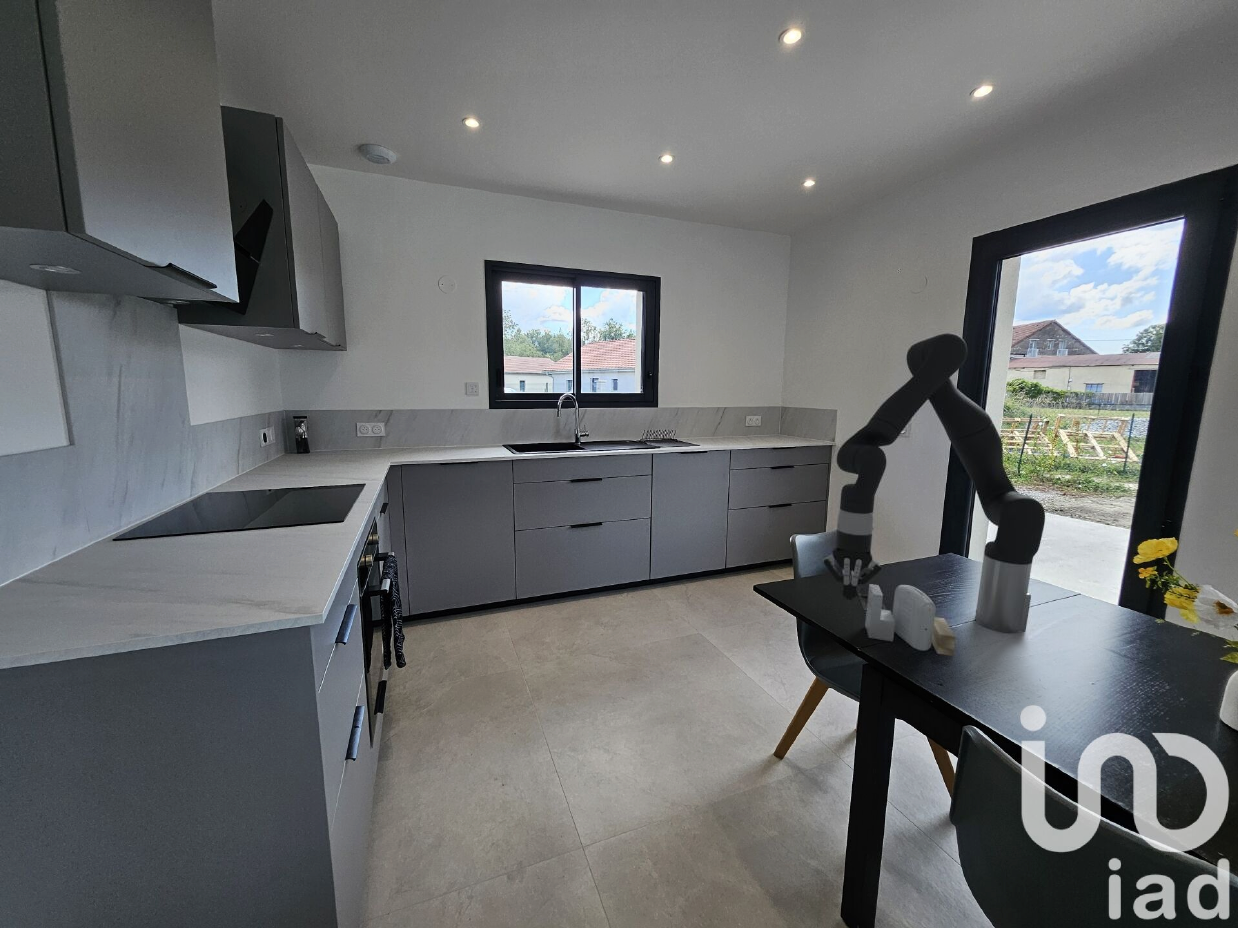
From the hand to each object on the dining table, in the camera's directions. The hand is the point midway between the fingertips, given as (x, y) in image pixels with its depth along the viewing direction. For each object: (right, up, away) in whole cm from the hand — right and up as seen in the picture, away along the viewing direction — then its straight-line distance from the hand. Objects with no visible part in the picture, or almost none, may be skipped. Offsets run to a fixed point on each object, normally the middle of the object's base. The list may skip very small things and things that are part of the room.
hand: (848, 598), depth 116 cm
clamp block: (+18, -9, -5) cm, 21 cm away
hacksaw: (+15, -7, +14) cm, 22 cm away
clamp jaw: (+7, -8, -1) cm, 10 cm away
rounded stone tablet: (+13, -9, -3) cm, 16 cm away
